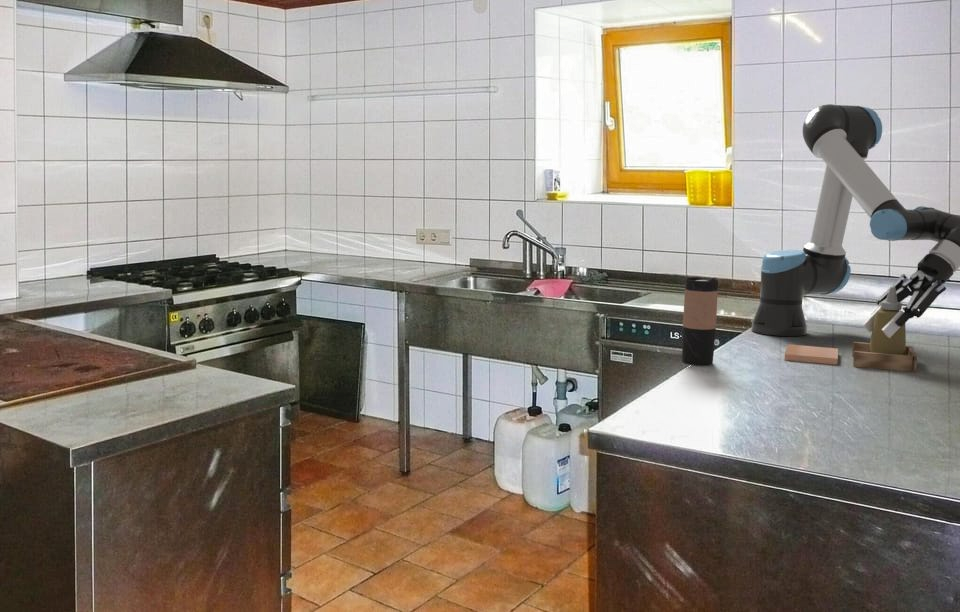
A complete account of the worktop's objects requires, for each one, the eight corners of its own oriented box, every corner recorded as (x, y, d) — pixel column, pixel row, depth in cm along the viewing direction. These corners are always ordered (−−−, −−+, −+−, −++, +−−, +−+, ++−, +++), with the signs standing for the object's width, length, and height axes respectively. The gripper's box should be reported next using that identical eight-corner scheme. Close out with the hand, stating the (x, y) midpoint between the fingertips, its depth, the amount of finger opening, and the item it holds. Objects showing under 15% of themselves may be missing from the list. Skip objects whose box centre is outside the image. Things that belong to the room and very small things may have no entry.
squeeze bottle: (873, 356, 223) (880, 284, 220) (908, 361, 217) (915, 287, 215) (863, 361, 216) (870, 287, 214) (899, 366, 211) (906, 290, 209)
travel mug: (690, 366, 209) (695, 281, 206) (675, 360, 216) (679, 277, 214) (720, 365, 211) (725, 281, 208) (703, 358, 218) (708, 277, 216)
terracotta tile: (784, 360, 219) (784, 354, 219) (787, 350, 232) (788, 344, 231) (837, 364, 214) (837, 358, 214) (837, 354, 227) (838, 348, 227)
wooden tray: (853, 366, 213) (854, 351, 212) (852, 355, 226) (853, 341, 226) (916, 371, 208) (917, 357, 207) (911, 360, 221) (912, 346, 221)
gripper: (979, 279, 208) (912, 349, 207) (921, 269, 227) (858, 334, 225) (962, 256, 206) (894, 327, 205) (905, 248, 224) (842, 313, 223)
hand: (875, 331), depth 215 cm, fingers closed on squeeze bottle, 6 cm apart
